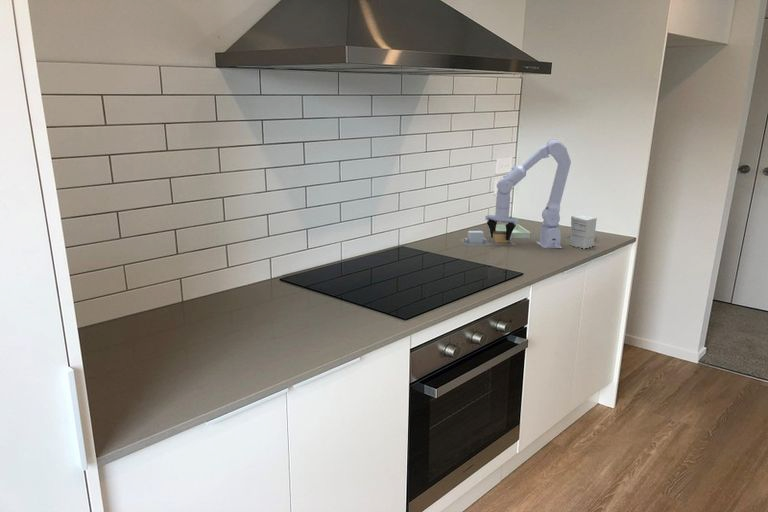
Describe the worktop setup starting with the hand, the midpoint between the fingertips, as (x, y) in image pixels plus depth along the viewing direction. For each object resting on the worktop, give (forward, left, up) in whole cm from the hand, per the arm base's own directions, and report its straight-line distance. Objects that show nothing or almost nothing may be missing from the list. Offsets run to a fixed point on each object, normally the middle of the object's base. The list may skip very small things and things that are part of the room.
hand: (500, 238), depth 263 cm
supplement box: (-7, -34, -2) cm, 34 cm away
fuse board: (0, +5, -2) cm, 6 cm away
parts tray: (+14, -9, -2) cm, 17 cm away
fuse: (0, +11, -1) cm, 11 cm away
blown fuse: (0, 0, -1) cm, 1 cm away
